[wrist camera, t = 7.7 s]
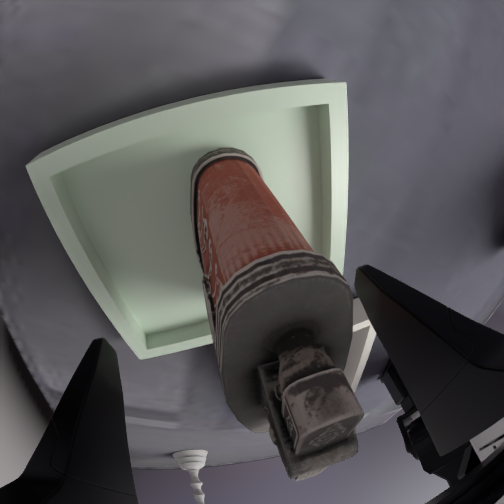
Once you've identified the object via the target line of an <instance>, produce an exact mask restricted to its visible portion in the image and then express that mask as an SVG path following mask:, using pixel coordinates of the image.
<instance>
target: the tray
mask: <svg viewBox="0 0 504 504" xmlns="http://www.w3.org/2000/svg"><path fill="white" fill-rule="evenodd" d="M221 147H233V148H237V149H240V150H243V151H245V152H246V153H247V154H249V155H250V156H251V157H252V158H253V159H254V161H255V162H256V163H257V165H258V166H259V168H260V170H261V172H262V175H263V179H264V182H265V184H266V185H267V187H268V188H269V189H270V191H271V192H272V193H273V195H274V196H275V197H276V199H277V200H278V201H279V203H280V204H281V206H282V207H283V208H284V210H285V211H286V213H287V214H288V215H289V217H290V218H291V220H292V221H293V222H294V224H295V225H296V227H297V228H298V229H299V231H300V232H301V234H302V235H303V236H304V238H305V239H306V241H307V242H308V244H309V245H310V247H311V248H312V249H313V251H314V252H317V253H321V254H322V255H324V256H325V257H327V258H328V259H329V260H331V261H332V262H333V263H334V265H335V266H336V267H337V269H338V270H339V272H340V273H341V274H342V276H343V266H344V254H345V241H346V225H347V204H348V108H347V88H346V82H342V81H337V80H332V79H310V80H298V81H288V82H279V83H271V84H264V85H257V86H250V87H244V88H238V89H232V90H227V91H222V92H217V93H212V94H207V95H203V96H198V97H194V98H190V99H186V100H182V101H178V102H174V103H170V104H167V105H163V106H160V107H156V108H153V109H149V110H146V111H143V112H140V113H137V114H134V115H131V116H128V117H125V118H122V119H119V120H116V121H113V122H111V123H108V124H105V125H102V126H100V127H97V128H95V129H92V130H90V131H87V132H85V133H82V134H80V135H78V136H75V137H73V138H71V139H68V140H66V141H64V142H62V143H60V144H57V145H55V146H53V147H51V148H49V149H47V150H45V151H43V152H41V153H40V154H38V155H37V156H36V157H35V158H34V159H33V160H31V161H30V162H29V163H28V164H27V165H26V169H27V171H28V174H29V176H30V179H31V181H32V183H33V186H34V188H35V190H36V193H37V195H38V197H39V199H40V201H41V203H42V206H43V208H44V210H45V212H46V214H47V216H48V218H49V220H50V222H51V224H52V226H53V228H54V230H55V232H56V234H57V236H58V237H59V239H60V241H61V243H62V245H63V247H64V248H65V250H66V252H67V254H68V256H69V257H70V259H71V261H72V262H73V264H74V266H75V268H76V269H77V271H78V273H79V274H80V276H81V277H82V279H83V281H84V282H85V284H86V285H87V287H88V289H89V290H90V292H91V293H92V295H93V296H94V298H95V299H96V301H97V302H98V304H99V305H100V307H101V308H102V310H103V311H104V313H105V314H106V315H107V317H108V318H109V320H110V321H111V323H112V324H113V325H114V327H115V328H116V329H117V331H118V332H119V333H120V335H121V336H122V337H123V339H124V340H125V341H126V343H127V344H128V345H129V347H130V348H131V349H132V350H133V352H134V353H135V354H136V355H137V357H138V358H139V359H140V360H142V359H147V358H152V357H156V356H161V355H165V354H170V353H174V352H179V351H183V350H187V349H191V348H195V347H199V346H203V345H207V344H211V343H213V339H212V335H211V330H210V325H209V320H208V315H207V309H206V303H205V297H204V291H203V285H202V277H203V273H202V270H201V267H200V264H199V261H198V258H197V255H196V250H195V244H194V237H193V230H192V222H191V214H190V181H191V172H192V169H193V166H194V165H195V163H196V162H197V161H198V159H199V158H200V157H201V156H203V155H204V154H206V153H207V152H209V151H211V150H214V149H217V148H221Z"/></svg>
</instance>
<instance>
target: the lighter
mask: <svg viewBox="0 0 504 504" xmlns="http://www.w3.org/2000/svg"><path fill="white" fill-rule="evenodd" d="M190 214H191V222H192V230H193V237H194V244H195V250H196V255H197V258H198V261H199V264H200V267H201V270H202V273H203V277H202V285H203V291H204V297H205V303H206V309H207V315H208V320H209V325H210V330H211V335H212V339H213V344H214V347H215V350H216V355H217V361H218V366H219V371H220V376H221V381H222V385H223V390H224V394H225V398H226V402H227V404H228V406H229V407H230V409H231V410H232V412H233V414H234V415H235V417H236V418H237V420H238V421H239V422H240V423H242V424H243V425H244V426H245V427H246V428H247V429H249V430H250V431H252V432H255V433H266V432H270V437H271V439H272V441H273V443H274V444H275V445H276V446H277V447H278V450H279V453H280V456H281V459H282V462H283V464H284V466H285V468H286V471H287V474H288V476H289V477H290V479H291V478H295V479H296V481H299V480H302V479H306V478H309V477H311V476H314V475H317V474H319V473H321V472H322V471H323V470H324V469H325V468H326V467H327V466H330V465H333V464H335V463H338V462H340V461H343V460H345V459H348V458H350V457H352V456H354V455H355V454H356V453H357V452H358V440H357V437H356V429H355V427H356V426H357V424H358V423H359V422H360V421H361V419H362V418H363V416H364V412H363V410H362V408H361V406H360V404H359V402H358V400H357V398H356V396H355V394H354V392H353V390H352V388H351V386H350V384H349V382H348V380H347V378H346V376H345V374H344V372H343V371H344V369H345V367H346V362H347V358H348V354H349V350H350V346H351V341H352V337H353V295H352V292H351V289H350V286H349V284H348V283H347V282H346V280H345V279H344V277H343V276H342V274H341V273H340V272H339V270H338V269H337V267H336V266H335V265H334V263H333V262H332V261H331V260H329V259H328V258H327V257H325V256H324V255H322V254H321V253H317V252H314V251H313V249H312V248H311V247H310V245H309V244H308V242H307V241H306V239H305V238H304V236H303V235H302V234H301V232H300V231H299V229H298V228H297V227H296V225H295V224H294V222H293V221H292V220H291V218H290V217H289V215H288V214H287V213H286V211H285V210H284V208H283V207H282V206H281V204H280V203H279V201H278V200H277V199H276V197H275V196H274V195H273V193H272V192H271V191H270V189H269V188H268V187H267V185H266V184H265V182H264V179H263V175H262V172H261V170H260V168H259V166H258V165H257V163H256V162H255V161H254V159H253V158H252V157H251V156H250V155H249V154H247V153H246V152H245V151H243V150H240V149H237V148H233V147H221V148H217V149H214V150H211V151H209V152H207V153H206V154H204V155H203V156H201V157H200V158H199V159H198V161H197V162H196V163H195V165H194V166H193V169H192V172H191V181H190Z"/></svg>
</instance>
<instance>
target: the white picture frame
mask: <svg viewBox="0 0 504 504" xmlns="http://www.w3.org/2000/svg"><path fill="white" fill-rule="evenodd" d="M375 336H376V332H375V330H374V329H373V327H372V325H371V323H370V321H369V319H368V316H367V314H366V312H365V310H364V307H363V305H362V303H361V301H360V299H359V297H358V298H356V299H353V337H352V341H351V346H350V350H349V354H348V358H347V362H346V367H345V369H344V371H343V372H344V374H345V376H346V378H347V380H348V382H349V384H350V386H351V388H352V390H353V392H354V393H355V391H356V388H357V386H358V383H359V381H360V378H361V376H362V373H363V370H364V368H365V365H366V362H367V359H368V357H369V354H370V351H371V348H372V345H373V342H374V339H375Z"/></svg>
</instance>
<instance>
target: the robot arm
mask: <svg viewBox="0 0 504 504" xmlns="http://www.w3.org/2000/svg"><path fill="white" fill-rule="evenodd" d="M354 286H355V290H356V292H357V294H358V297H359V299H360V301H361V303H362V305H363V307H364V310H365V312H366V314H367V316H368V319H369V321H370V323H371V325H372V327H373V329H374V330H375V332H376V334H377V336H378V337H379V339H380V341H381V342H382V344H383V346H384V348H385V349H386V351H387V353H388V355H389V357H390V358H391V360H390V362H389V364H388V366H387V368H386V370H385V372H384V374H383V376H382V378H381V382H382V383H384V384H385V385H386V387H387V389H388V391H389V393H390V394H391V396H392V398H393V400H394V402H395V403H396V405H401V406H402V408H403V410H404V412H405V414H403V415H401V416H399V417H398V418H397V423H398V425H399V428H400V431H401V433H402V436H403V438H404V443H405V447H406V451H407V452H408V453H411V454H412V455H413V457H414V458H415V459H417V460H420V462H421V465H422V467H423V470H424V471H426V472H427V473H429V474H432V473H433V474H435V475H437V476H439V477H441V478H443V479H445V480H447V482H448V484H449V486H450V487H449V488H448V489H447V490H445V491H444V492H442V493H441V494H439V495H438V496H436V497H435V498H433V499H432V500H430V501H429V502H427V503H425V504H504V334H501V333H499V332H497V331H495V330H492V329H491V328H488V327H486V326H484V325H482V324H480V323H478V322H476V321H473V320H471V319H469V318H467V317H465V316H463V315H462V314H460V313H458V312H456V311H454V310H452V309H451V308H447V306H445V305H443V304H442V303H440V302H438V301H436V300H434V299H432V298H431V297H429V296H427V295H425V294H423V293H421V292H420V291H418V290H416V289H414V288H412V287H410V286H408V285H406V284H405V283H403V282H401V281H399V280H397V279H395V278H393V277H391V276H389V275H387V274H386V273H384V272H382V271H380V270H378V269H376V268H374V267H372V266H370V265H363V266H360V267H358V268H357V269H356V275H355V283H354ZM419 414H420V415H421V416H420V417H418V418H417V419H415V420H414V421H413V418H414V417H416V416H417V415H419ZM0 504H138V499H137V496H136V490H135V485H134V480H133V474H132V468H131V462H130V455H129V448H128V441H127V433H126V423H125V413H124V401H123V392H122V385H121V379H120V373H119V366H118V359H117V354H116V352H115V350H114V349H113V348H112V346H111V345H110V344H109V343H108V341H107V340H106V339H105V338H98V339H94V340H93V341H92V343H91V344H90V346H89V348H88V350H87V351H86V353H85V355H84V357H83V358H82V360H81V362H80V364H79V366H78V367H77V369H76V371H75V373H74V375H73V377H72V379H71V380H70V382H69V384H68V386H67V388H66V390H65V392H64V394H63V396H62V398H61V400H60V402H59V404H58V406H57V408H56V410H55V412H54V414H53V416H52V419H51V420H50V422H49V424H48V426H47V428H46V430H45V432H44V434H43V437H42V439H41V440H40V442H39V444H38V446H37V448H36V450H35V451H34V454H33V455H32V457H31V459H30V461H29V462H28V464H27V466H26V468H25V470H24V471H23V473H22V474H21V475H20V477H19V478H18V479H16V480H14V481H13V482H11V483H9V484H7V485H5V486H3V487H1V488H0Z"/></svg>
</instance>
